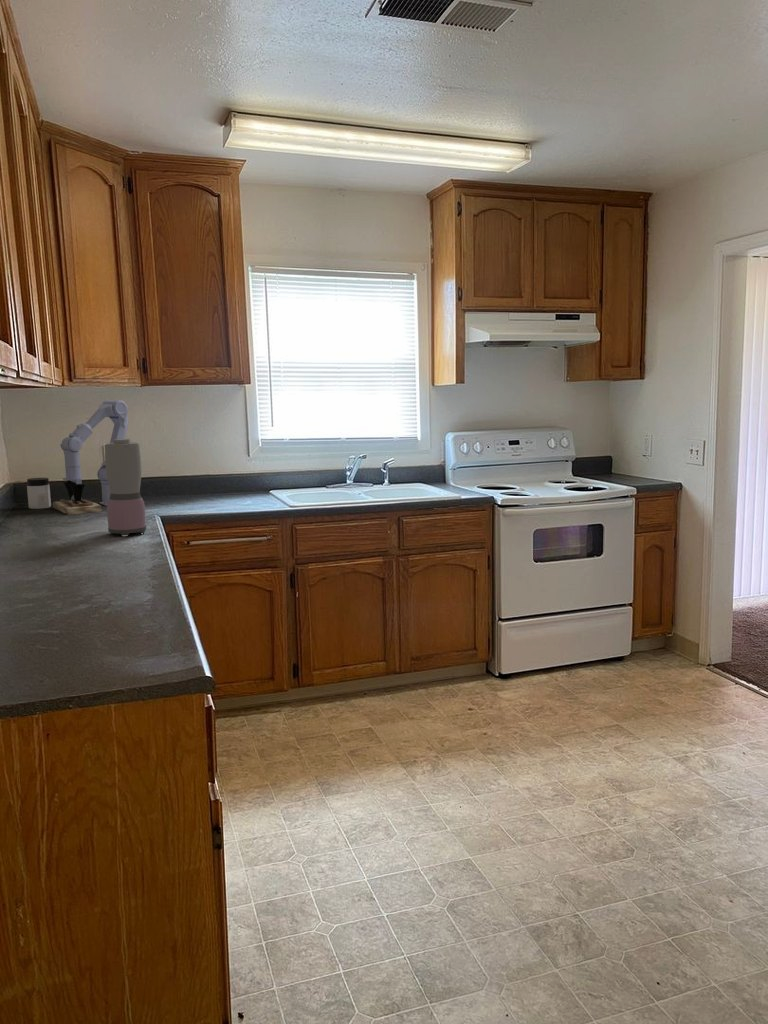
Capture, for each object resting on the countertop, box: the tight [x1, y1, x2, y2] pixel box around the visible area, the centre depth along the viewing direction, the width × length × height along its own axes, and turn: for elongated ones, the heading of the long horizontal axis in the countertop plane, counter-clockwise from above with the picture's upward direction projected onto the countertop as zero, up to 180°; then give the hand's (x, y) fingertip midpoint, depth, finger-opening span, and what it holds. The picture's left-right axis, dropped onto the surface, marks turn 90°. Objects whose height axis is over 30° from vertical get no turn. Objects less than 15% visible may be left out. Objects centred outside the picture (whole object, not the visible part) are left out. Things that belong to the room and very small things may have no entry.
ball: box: [70, 495, 83, 504], centre depth 305 cm, size 4×4×4 cm
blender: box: [104, 438, 147, 536], centre depth 253 cm, size 16×12×32 cm
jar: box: [26, 477, 52, 510], centre depth 311 cm, size 9×8×12 cm
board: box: [52, 498, 103, 516], centre depth 305 cm, size 13×22×3 cm, turn 37°
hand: (75, 499), depth 307 cm, fingers open, 7 cm apart
